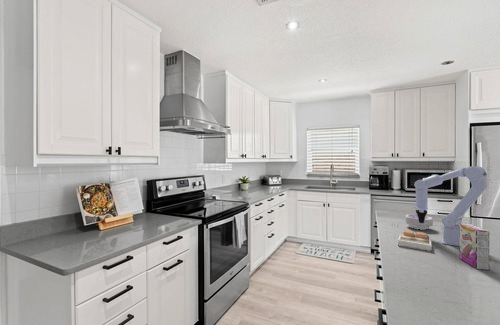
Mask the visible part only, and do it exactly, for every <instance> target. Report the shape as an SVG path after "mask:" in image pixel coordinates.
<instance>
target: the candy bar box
mask: <svg viewBox="0 0 500 325" xmlns="http://www.w3.org/2000/svg"><path fill="white" fill-rule="evenodd" d="M459 225H460V246H459V259H460V260H461V261H462V262H464V263H466V264H467V265H469V266H471V267H472V268H474V269H476V270H479V271H481V270H482V271H483V270H484V271H490V230H487V229H484V228H482V227H479V226H477V225H473V224H471V223H461V224H459Z"/></svg>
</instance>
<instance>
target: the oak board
mask: <svg viewBox="0 0 500 325" xmlns="http://www.w3.org/2000/svg"><path fill="white" fill-rule="evenodd" d="M403 232H404V231H402V232H401V234H400V235H401V238H402V239H408V240H414V241H421V242H427V243H429V239H430V235H427V239H425V238H419V237H416V233H414V237H412V236H405V235H403Z"/></svg>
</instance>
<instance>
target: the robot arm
mask: <svg viewBox="0 0 500 325" xmlns="http://www.w3.org/2000/svg"><path fill="white" fill-rule="evenodd" d="M487 176H488V174H487V171H486V170H485V168H483V167H482V166H479V165H477V166H476V165H475V166H474V165H473V166H472V165H470V166H468V167H462V168H459V169H454V170H453V171H450V172H447V173H444V174H442V175H439V174H431V176H428V177H423V178H422V179H418V180H416V181H415V182H414V184H413V185H414V187H415V206H413V209H415V213H416V215H418V219H419V223H424V220H425V216H427V215H428V210H429V208H428V198H429V197H428V195H429V194H428V189H429V188H433V187H435V186H439V185H442V184H443V182H444V181H447V180H451V179H455V178H459V177H462V178H463V177H464V178H465V177H466V178H467V179H468V180H469V182H470V184H471V187H470V188H469V189H468V190H467V192H466V193H465V195H464V196H463V197H462V198H461V199H460V201H459V202H458V203H457V204H456V206H455V207H454V208H453V209H452V210H451V211H450V212H449V213H447V215H444V216H443V217H442V218H441V224H442V225H443V227H442V230H443V232H442V239H441V242H442V244H444V245H451V246H457V247H460V226H459V225H460V224H462V219H463V218H464V216H465V214H466V213H467V212H468V210H470V208H471V207H472V206H473V204H475V203H476V201H477V200H478V199H479V197H481V195H482V194H483V193H484V192H485V190H486V189H487V187H488V182H487V180H488V179H487Z"/></svg>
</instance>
